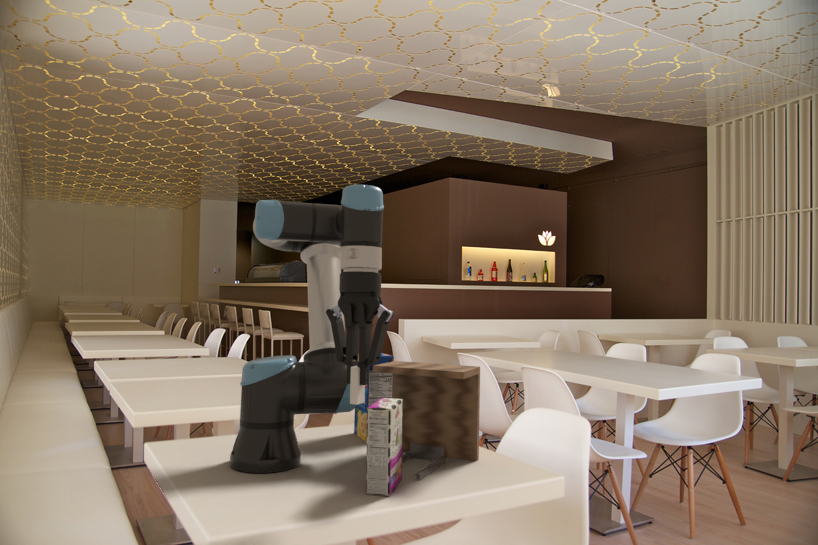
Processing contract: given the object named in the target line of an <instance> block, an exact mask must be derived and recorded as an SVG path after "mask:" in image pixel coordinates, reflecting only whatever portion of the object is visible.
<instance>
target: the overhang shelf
mask: <svg viewBox="0 0 818 545" xmlns="http://www.w3.org/2000/svg"><path fill="white" fill-rule="evenodd" d="M373 372H379V373H392V374H393V382H392V398H394V399H403V407H402V409H403V415H402V463H403V462H405V461H407V460H408V459H410V458H414V459H420V460H428V461H432V462H430V463H429V464H427V465H426V466H424V467H423V468H422V469H420V470H419V471H417V472H416V473H415V481H421V480H422V479H425V477H427V476H428V475H430V474H431V473H432V472H434V471H435V470H437V468H439V467H440V466H441V465H443V464H444V463H446V458H452V459H460V460H469V461H475V462H477V461H478V460H479V459H480V458H479V457H480V455H479V454H480V401H481V400H480V398H481V396H480V395H481V392H480V391H481V366H476V365H475V366H473V365H463V364H462V365H461V364H459V365H458V364H446V363H433V362H432V363H431V362H417V361H415V362H414V361H402V360H393V362H388V363H383V364H378V365H373Z"/></svg>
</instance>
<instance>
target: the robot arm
mask: <svg viewBox="0 0 818 545" xmlns="http://www.w3.org/2000/svg"><path fill="white" fill-rule="evenodd" d="M255 204H256V205H255V210H254V219H253V223H252V231H253V234H254V236H255V238H256V240H258V241H259V242H260V243H261V244H262V245H264V246H266V247H268V248H271V249H273V250H279V251H283V252H291V253H292V252H293V253H300V260H301V261H302V262H303V263H304V264H305V265H306V272H307V273H306V276H307V278H306V280H307V283H306V284H307V303H308V304H307V305H308V306H307V309H308V310H307V312H308V334H309V335H308V336H309V337H308V338H309V350H307V351H306V352H305V353H304V355H303V361H298V360H297V357H296V356H295V355H290V354H289V355H288V354H287V355H273V356H267V357H260V358H255V359H253V360H249V361H247V362H246V363H245V364H244V365H243V367H242V371H241V380H240V387H241V393H240V411H239V412H240V413H239V429H238V432H237V435H236V437H235V441H234V443H233V445H232V446H233V447H232V450H231V452H230V455H229V456H230V457H229V467H230V468H231V469H233V470H235V471H238V472H243V473H250V474H252V473H253V474H268V473H279V472H284V471H287V470H290V469H291V470H292V469H293V468H297V467H298V466H299V465H300V464H301V458H302V457H301V455H302V454H301V453H302V452H301V449H300V446H299V442H298V438H297V434H296V432H295V427H294V425H295V424H294V422H295V416H296V415H313V414H314V415H315V414H316V415H317V414H334V415H336V414H340V413H350V412H352V411H354V410H355V407H356V405H358V404H361V403H364V401H365V385H367V384H368V383H369V368H370V366H371V365H372V364H375V363H378V362H379V361H380V357H381V353H383V348H384V344H385V341H386V337H387V332H388V328H389V324H390V322H391V321H392V319H393V318H394V316H395V312H394V311H393V310H389V309H388V308H387V307H385V306H384V305H383V300H382V298H381V293H382V274H381V273H380V272H379V271H381V270H382V266H383V265H382V264H383V262H382V261H383V260H382V258H383V254H382V253H383V250H382V249H383V248H382V247H383V244H382V243H383V228H384V227H383V223H384V222H383V220H384V209H385V205H384V193H383V191H382V189H381V188H380V187H378V186H375V185H370V184H369V185H368V184H350V185H347V186H345V187H344V188H343V189H342V196H341V200H340V204H341V205H338V204H326V203H325V204H324V203H312V202H311V203H310V202H309V203H308V202H300V201H296V202H295V201H285V200H284V201H283V200H278V199H260V200H258V201H257V202H256V203H255ZM342 270H343V271H342ZM376 316H377V318H378V319H377V322H376V324H375V327H374V332H373V333H372V330H373V329H372V328H373V326H374V319H375V318H376ZM372 334H373V337H372ZM358 353H359V361H358Z"/></svg>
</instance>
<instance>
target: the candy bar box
mask: <svg viewBox="0 0 818 545" xmlns="http://www.w3.org/2000/svg"><path fill="white" fill-rule="evenodd" d="M402 407H403V399H394V398H381V399H379V400H378V401H377V402H375V403H374V404H372V405H371V406H369V407H368V408H367V442H366V464H365V465H366V467H365V469H366V472H365V476H366V477H365V479H366V480H365V481H366V482H365V486H366V487H365V494H366V495H371V496H381V497H391V495H392V493H393V492H394V490H395V489H396V487H397V486H398V484H399V483H400V482H401V480H402V479H403V462H402V454H403V451H402V415H403V409H402Z"/></svg>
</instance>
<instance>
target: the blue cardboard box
mask: <svg viewBox="0 0 818 545" xmlns="http://www.w3.org/2000/svg"><path fill="white" fill-rule="evenodd" d="M358 361H359V352H358ZM393 361H394V355H392V354H387V353H383V352H382V353H381V357H380V361H379V362H378V363H375V364H372V365H371V366H370V368H369V383H368V384H367V385H365V401H364V403H361V404H358V405H356V407H355V408H354V421H353V422H354V428H353V433H354V434H355V435H356V436H357V437H359V438H360V439H361V440H363V441H364V442H366V443H367V408H368V407H369V406H371V405H372V404H374V403H375V402H377V401H378V400H379V399H381V398H392V382H393V374H392V373H379V372H373V365H378V364H383V363H388V362H393Z"/></svg>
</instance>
